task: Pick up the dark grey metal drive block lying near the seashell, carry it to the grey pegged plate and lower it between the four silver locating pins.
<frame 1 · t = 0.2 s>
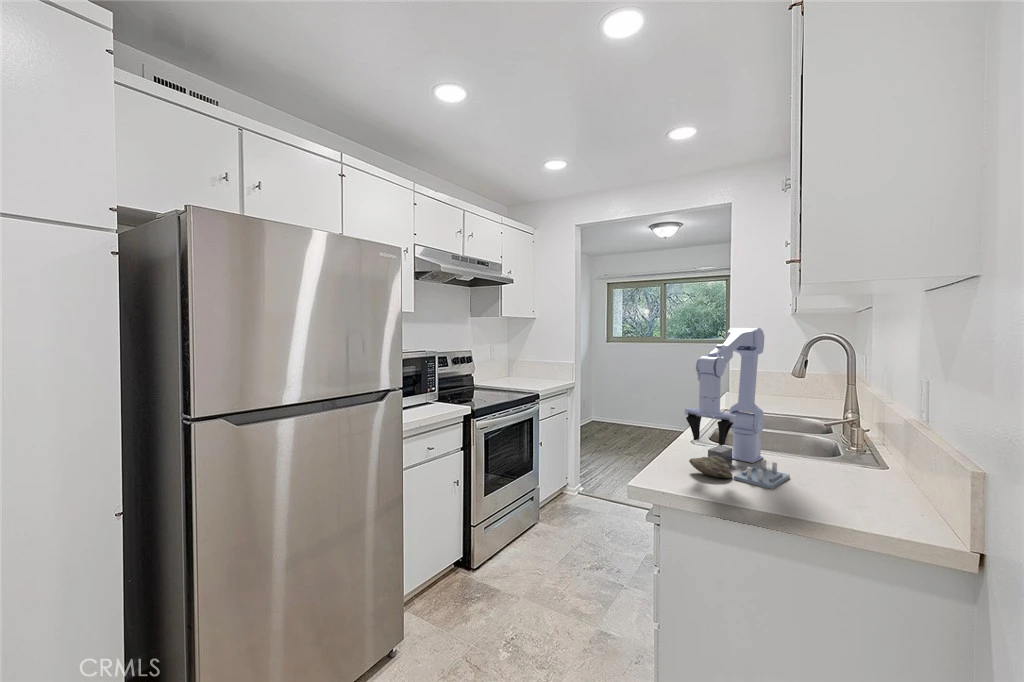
hand: (708, 442, 132), 10 cm above the worktop, tool pointing down, fingers open, 7 cm apart
fossilized seashell: (709, 475, 132), on the worktop
grey pegged plate: (761, 478, 129), on the worktop
drive: (719, 465, 141), on the worktop
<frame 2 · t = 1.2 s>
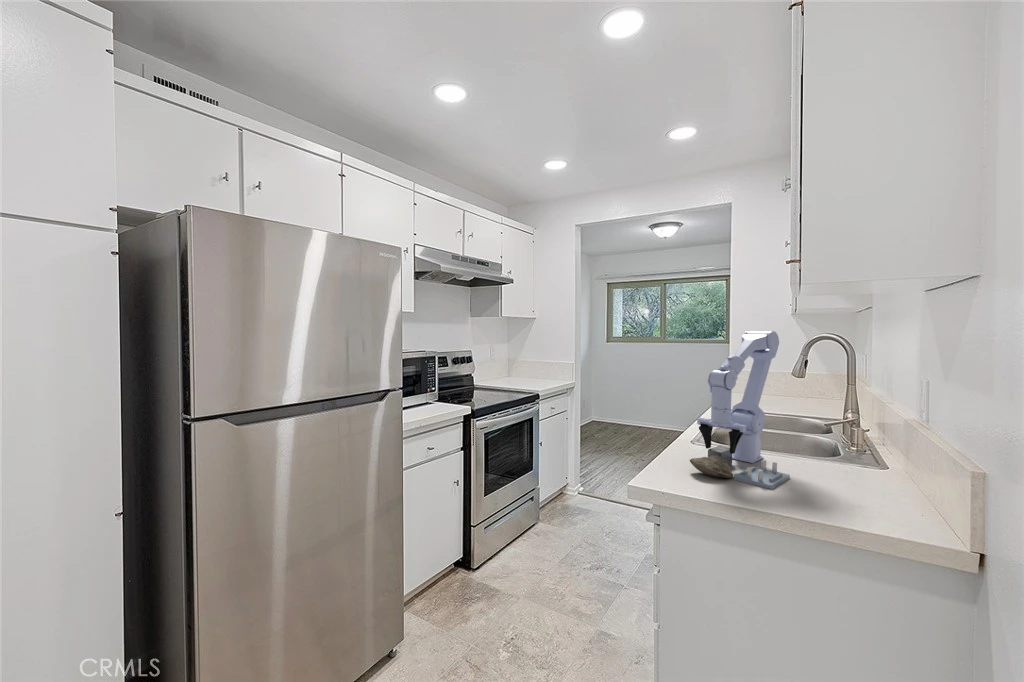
hand: (720, 450, 141), 5 cm above the worktop, tool pointing down, fingers open, 7 cm apart
nothing on the worktop moved.
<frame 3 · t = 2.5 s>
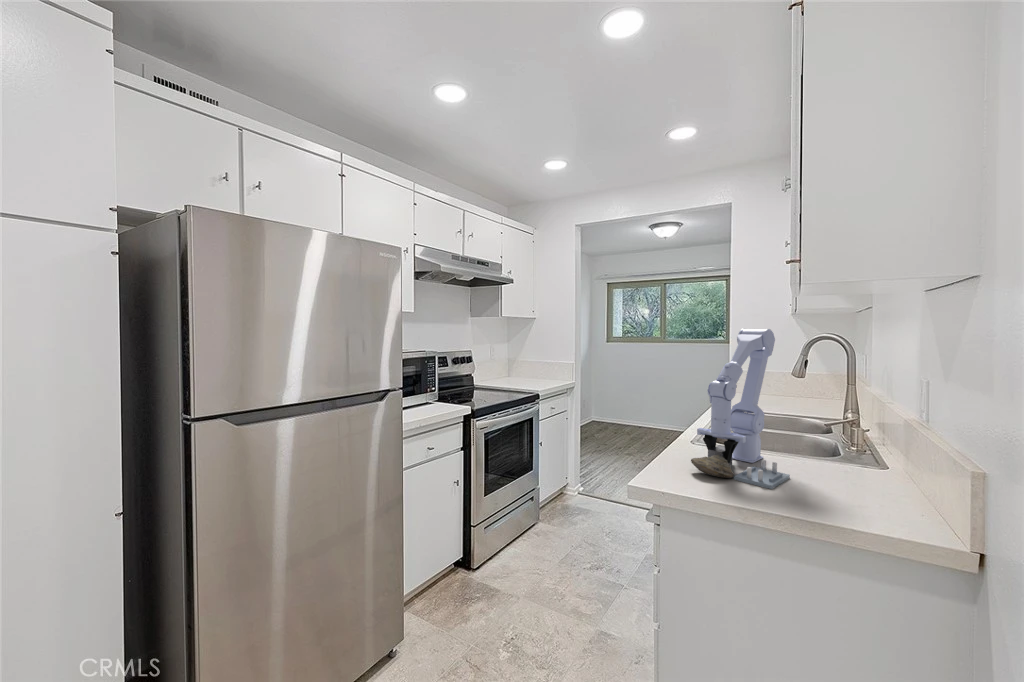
hand: (720, 460, 141), 2 cm above the worktop, tool pointing down, fingers closed on drive, 4 cm apart
drive: (719, 465, 141), on the worktop, touching gripper
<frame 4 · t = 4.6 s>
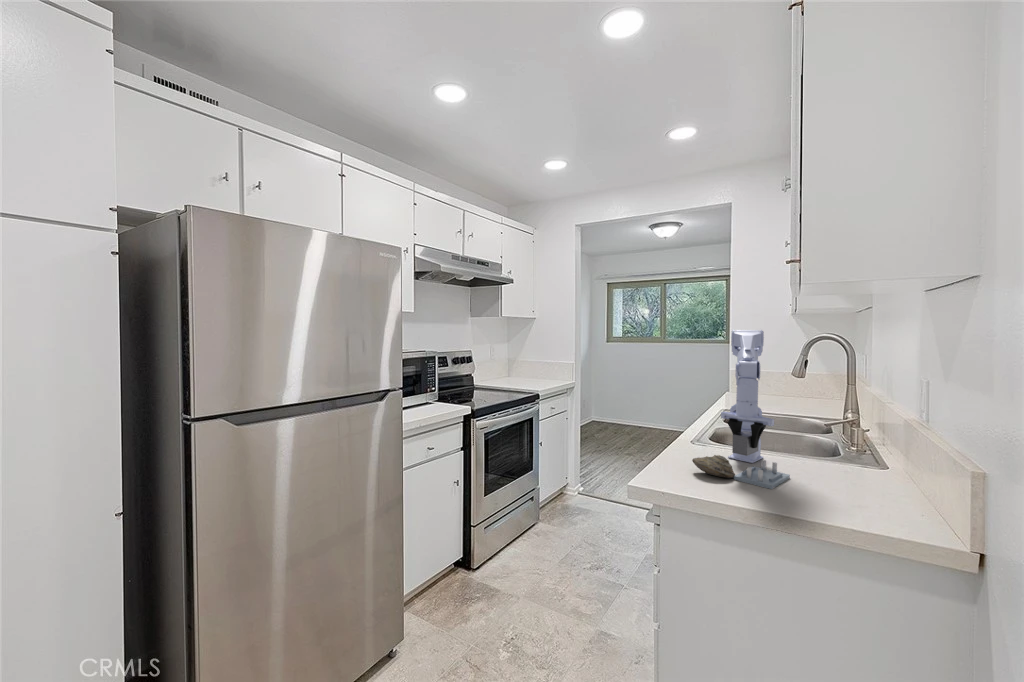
hand: (746, 445, 133), 8 cm above the worktop, tool pointing down, fingers closed on drive, 4 cm apart
drive: (745, 451, 133), point 7 cm above the worktop, touching gripper
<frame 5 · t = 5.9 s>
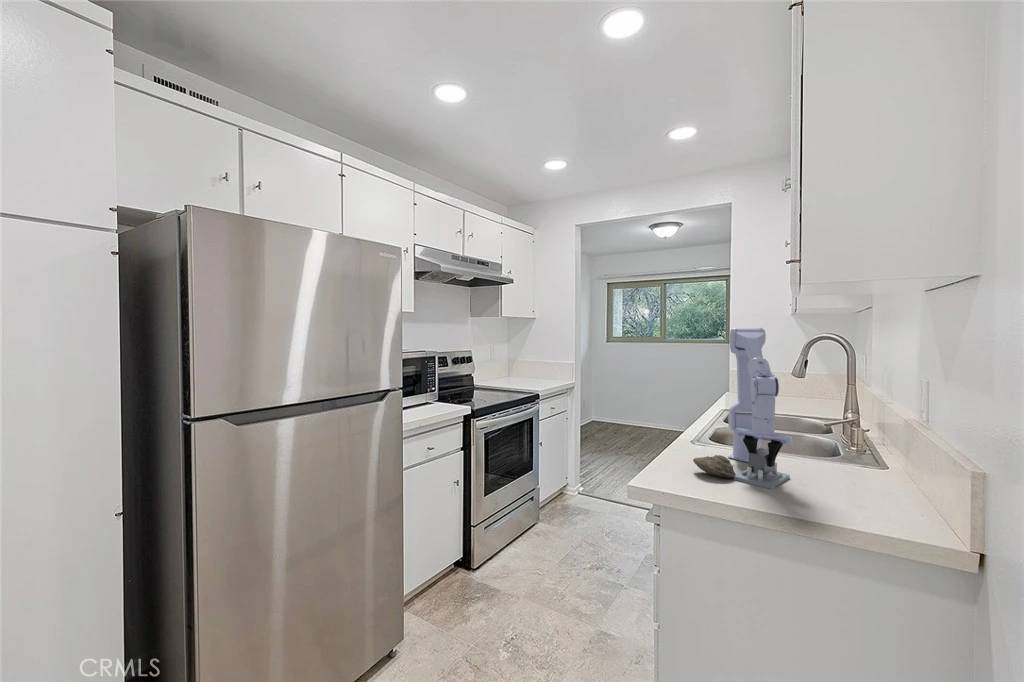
hand: (762, 464, 129), 4 cm above the worktop, tool pointing down, fingers closed on drive, 4 cm apart
drive: (761, 470, 129), point 2 cm above the worktop, touching gripper
when the fingers open (4 cm above the worktop, at t = 6.8 s): drive drops 1 cm, resting on grey pegged plate.
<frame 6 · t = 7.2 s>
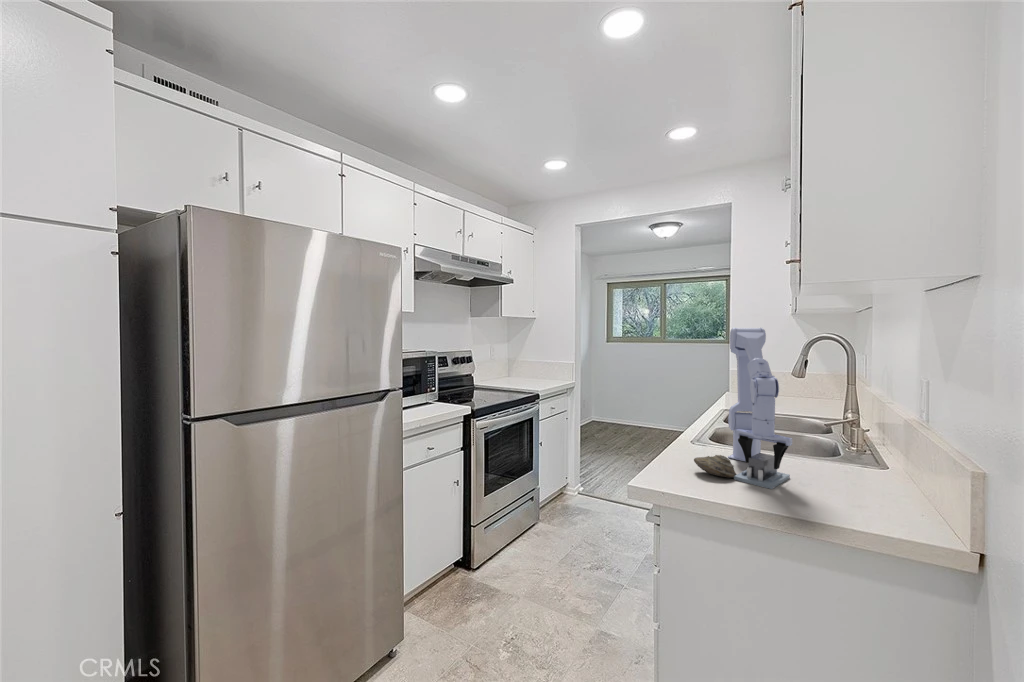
hand: (762, 465, 129), 4 cm above the worktop, tool pointing down, fingers open, 7 cm apart
drive: (761, 475, 129), point 1 cm above the worktop, touching grey pegged plate
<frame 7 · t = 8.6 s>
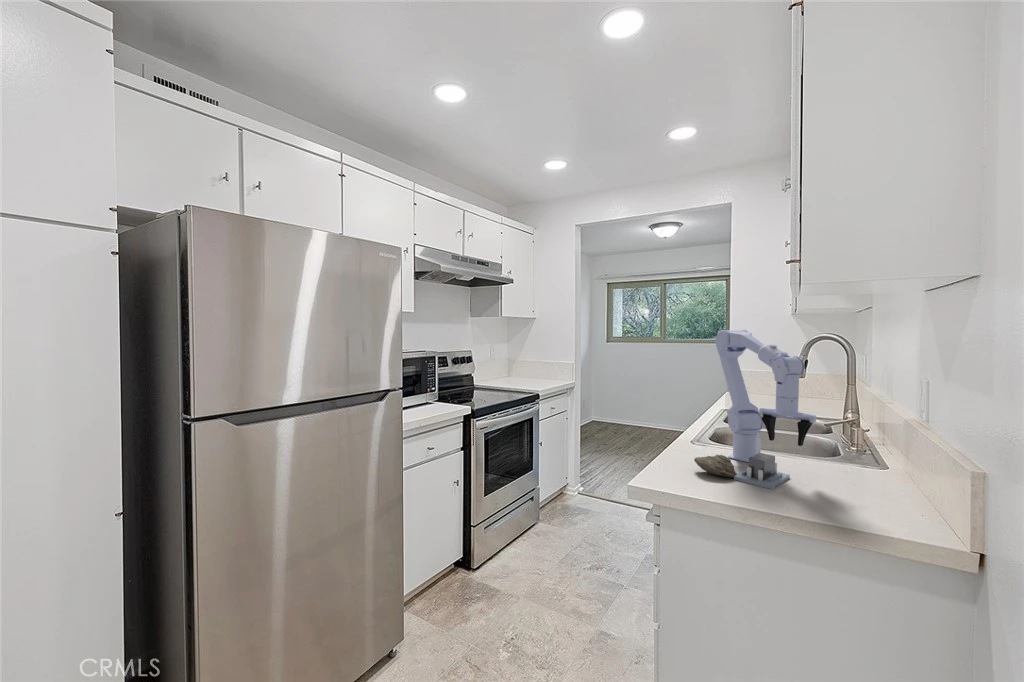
hand: (785, 442, 132), 10 cm above the worktop, tool pointing down, fingers open, 7 cm apart
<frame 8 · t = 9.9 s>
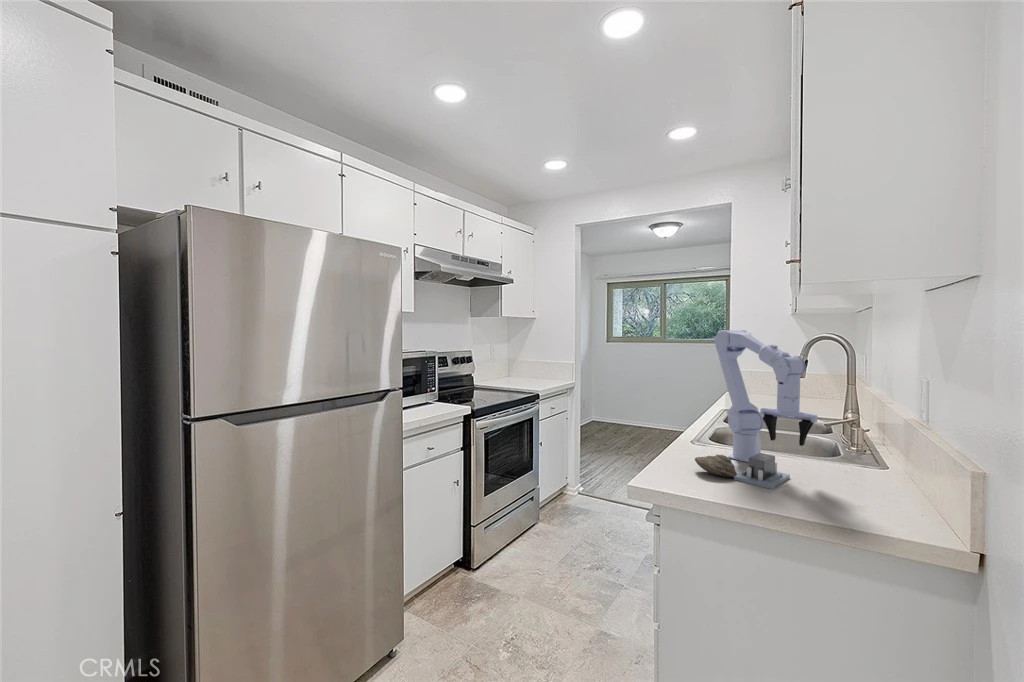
hand: (787, 442, 132), 10 cm above the worktop, tool pointing down, fingers open, 7 cm apart
at the end: drive 0.3 cm off-centre on the grey pegged plate, point 1.0 cm above the grey pegged plate's base; drive tilted 0°; the gripper is holding nothing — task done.
